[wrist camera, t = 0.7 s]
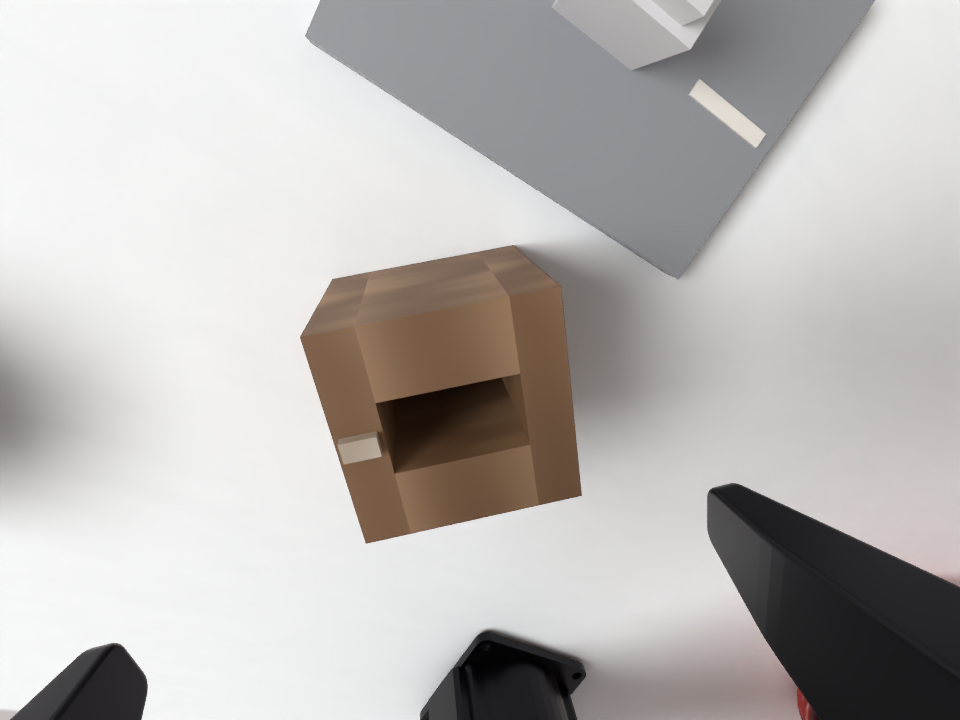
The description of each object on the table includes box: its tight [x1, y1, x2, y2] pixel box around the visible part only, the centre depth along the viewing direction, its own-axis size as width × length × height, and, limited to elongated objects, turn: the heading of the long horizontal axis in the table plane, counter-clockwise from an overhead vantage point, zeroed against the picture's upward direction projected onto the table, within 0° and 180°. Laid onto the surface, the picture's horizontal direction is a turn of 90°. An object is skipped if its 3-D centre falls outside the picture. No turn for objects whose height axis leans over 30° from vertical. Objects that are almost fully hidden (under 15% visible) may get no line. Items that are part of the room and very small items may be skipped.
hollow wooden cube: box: [300, 245, 582, 543], centre depth 16 cm, size 6×6×6 cm
